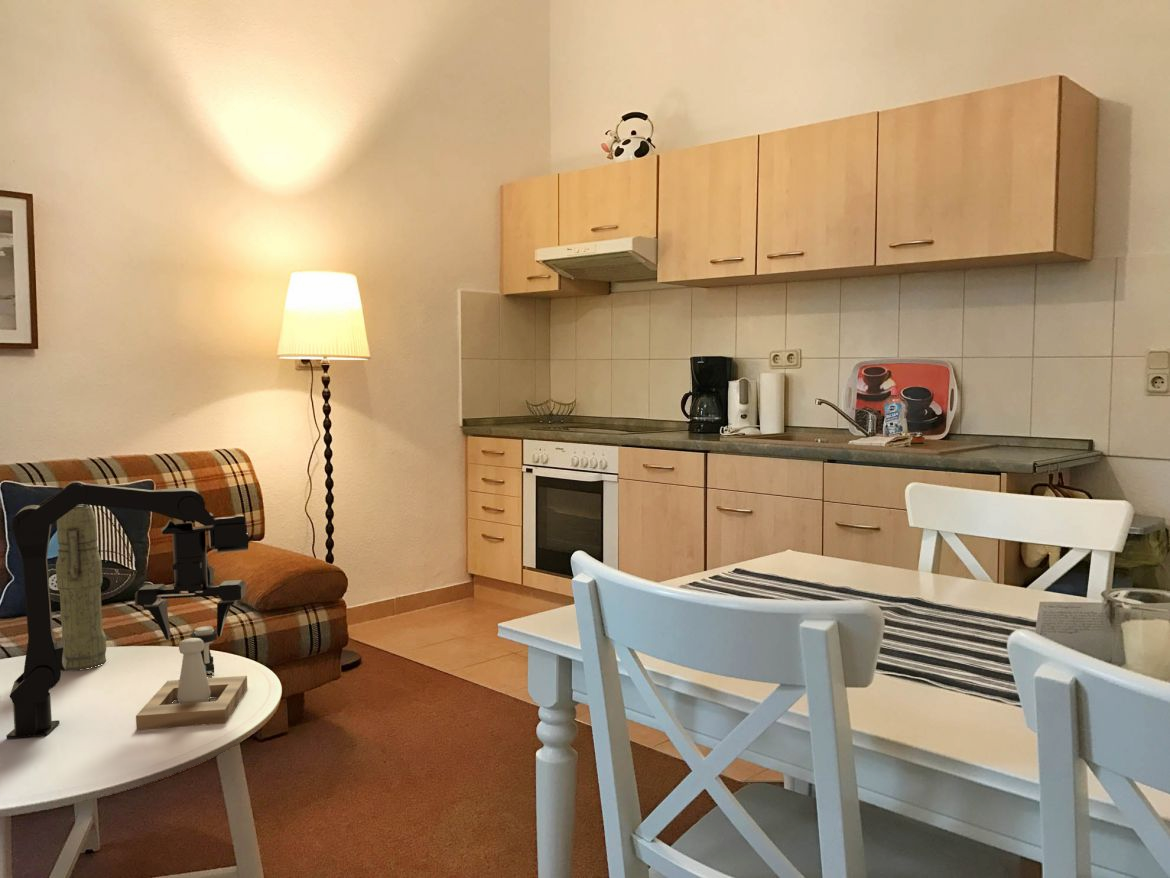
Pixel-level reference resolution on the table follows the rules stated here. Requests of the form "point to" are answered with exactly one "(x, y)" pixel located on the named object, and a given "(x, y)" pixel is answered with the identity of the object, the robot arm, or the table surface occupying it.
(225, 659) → the table surface
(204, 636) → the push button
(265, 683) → the table surface
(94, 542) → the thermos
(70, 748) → the table surface
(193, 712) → the wooden flat frame
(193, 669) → the salt shaker
